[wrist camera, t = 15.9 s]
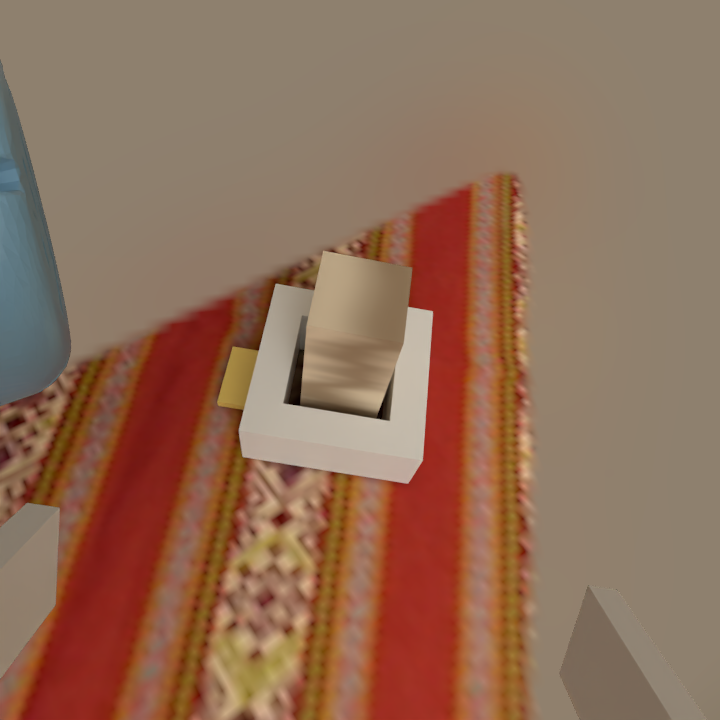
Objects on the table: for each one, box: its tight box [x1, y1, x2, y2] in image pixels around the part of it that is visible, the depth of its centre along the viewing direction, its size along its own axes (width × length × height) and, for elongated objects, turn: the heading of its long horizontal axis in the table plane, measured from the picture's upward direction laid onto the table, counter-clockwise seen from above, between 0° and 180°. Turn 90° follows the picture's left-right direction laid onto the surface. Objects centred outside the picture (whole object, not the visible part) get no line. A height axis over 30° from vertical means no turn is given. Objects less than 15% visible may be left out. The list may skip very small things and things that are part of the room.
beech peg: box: [300, 251, 412, 419], centre depth 32 cm, size 4×4×11 cm
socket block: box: [217, 284, 433, 484], centre depth 35 cm, size 12×10×4 cm
